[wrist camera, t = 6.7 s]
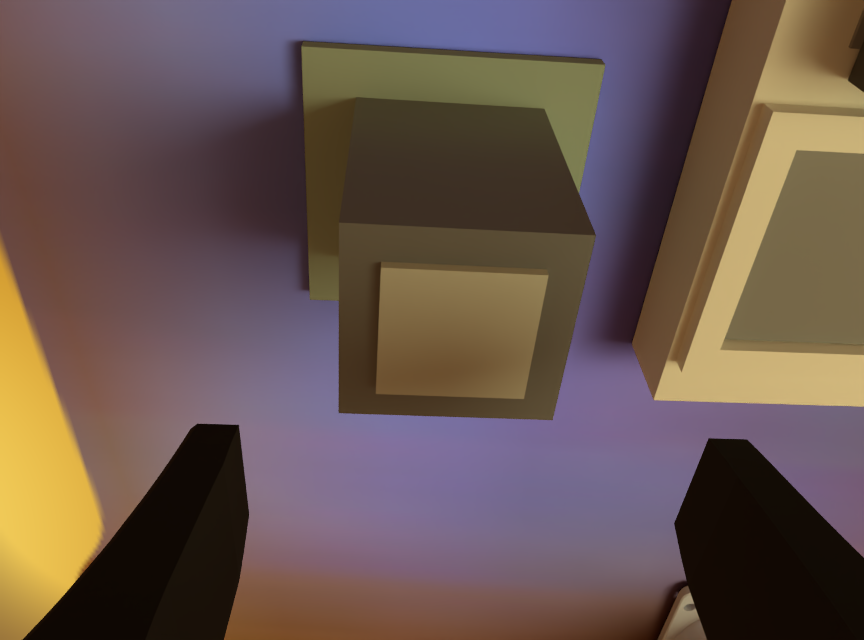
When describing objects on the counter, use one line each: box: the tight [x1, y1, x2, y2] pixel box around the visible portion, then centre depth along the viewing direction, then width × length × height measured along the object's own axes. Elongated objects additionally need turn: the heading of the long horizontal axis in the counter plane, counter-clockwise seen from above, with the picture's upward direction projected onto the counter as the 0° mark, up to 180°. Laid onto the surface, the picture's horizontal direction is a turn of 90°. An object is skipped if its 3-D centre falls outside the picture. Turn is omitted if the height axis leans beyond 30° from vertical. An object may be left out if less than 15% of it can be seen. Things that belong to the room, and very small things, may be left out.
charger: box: [339, 97, 596, 420], centre depth 17 cm, size 4×4×6 cm
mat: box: [301, 41, 605, 301], centre depth 19 cm, size 7×7×1 cm
